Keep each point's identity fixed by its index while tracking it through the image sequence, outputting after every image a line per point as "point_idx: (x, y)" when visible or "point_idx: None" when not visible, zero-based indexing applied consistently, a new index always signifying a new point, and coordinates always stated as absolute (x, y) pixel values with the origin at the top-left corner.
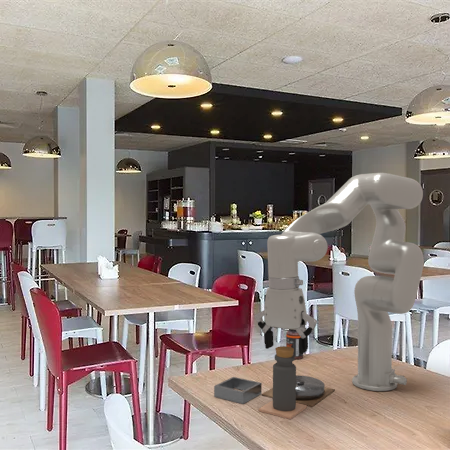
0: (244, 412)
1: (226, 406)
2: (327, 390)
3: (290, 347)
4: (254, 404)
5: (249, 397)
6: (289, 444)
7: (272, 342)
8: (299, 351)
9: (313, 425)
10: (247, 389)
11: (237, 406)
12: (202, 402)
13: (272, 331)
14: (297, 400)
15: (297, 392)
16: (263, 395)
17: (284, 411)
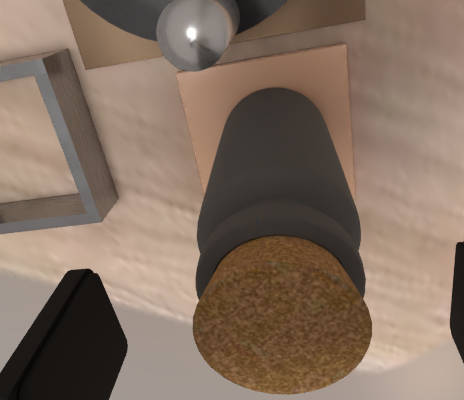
0: (182, 249)
1: (97, 249)
2: None
3: (301, 281)
4: (148, 171)
5: (98, 158)
6: (449, 334)
7: (87, 309)
8: (459, 343)
9: (459, 183)
10: (80, 181)
11: (122, 226)
12: (17, 273)
13: (13, 395)
14: None
15: (266, 17)
16: (96, 67)
17: None
